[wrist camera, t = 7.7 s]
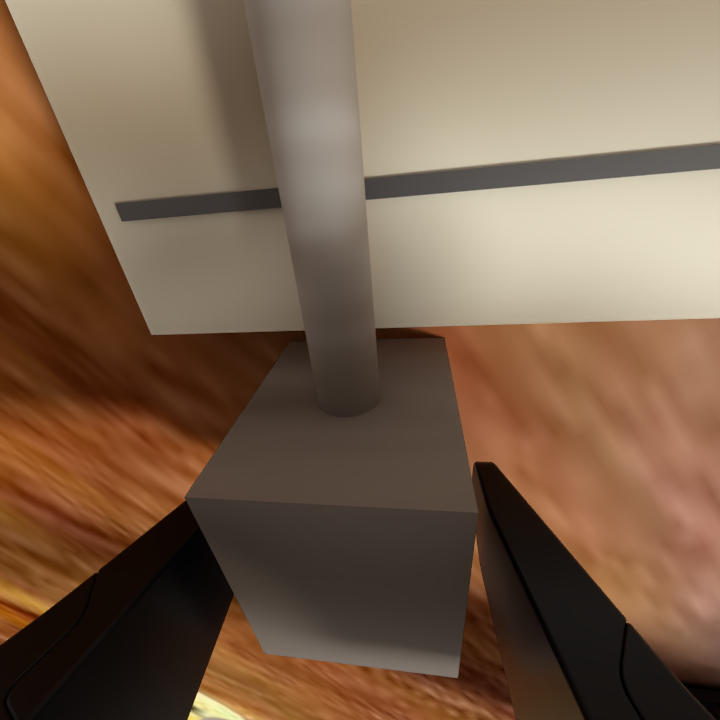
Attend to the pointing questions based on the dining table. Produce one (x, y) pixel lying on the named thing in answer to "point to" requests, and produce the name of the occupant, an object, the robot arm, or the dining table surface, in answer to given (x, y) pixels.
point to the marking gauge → (339, 407)
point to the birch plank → (407, 157)
